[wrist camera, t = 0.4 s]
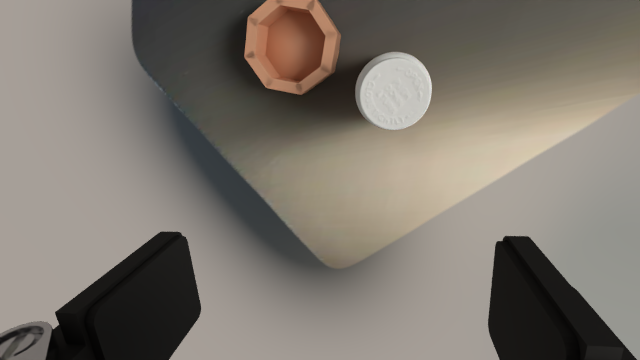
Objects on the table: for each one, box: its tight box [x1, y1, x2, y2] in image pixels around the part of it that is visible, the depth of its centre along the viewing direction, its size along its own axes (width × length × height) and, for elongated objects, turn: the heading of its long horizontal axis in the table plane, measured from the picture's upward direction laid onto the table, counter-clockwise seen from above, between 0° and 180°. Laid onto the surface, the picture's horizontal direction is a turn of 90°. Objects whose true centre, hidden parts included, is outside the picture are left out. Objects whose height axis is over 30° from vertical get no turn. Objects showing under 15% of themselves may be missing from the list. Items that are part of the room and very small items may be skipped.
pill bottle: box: [355, 52, 432, 130], centre depth 30 cm, size 6×6×11 cm
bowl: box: [244, 0, 341, 95], centre depth 34 cm, size 8×8×4 cm
